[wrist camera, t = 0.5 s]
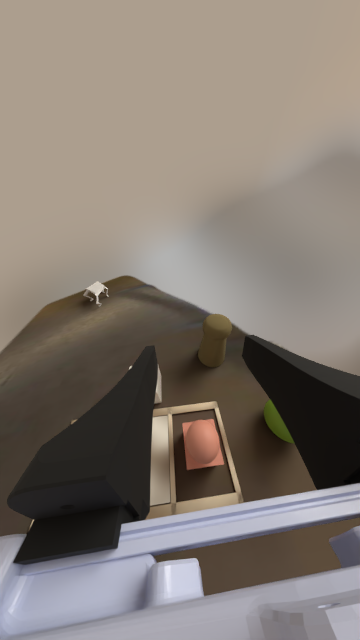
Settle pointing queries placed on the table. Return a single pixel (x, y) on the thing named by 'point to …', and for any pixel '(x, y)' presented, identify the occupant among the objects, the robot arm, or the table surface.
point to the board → (160, 468)
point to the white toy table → (95, 290)
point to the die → (158, 388)
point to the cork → (214, 340)
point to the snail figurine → (276, 422)
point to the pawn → (201, 444)
